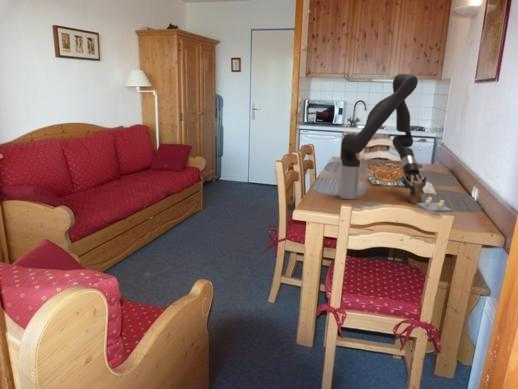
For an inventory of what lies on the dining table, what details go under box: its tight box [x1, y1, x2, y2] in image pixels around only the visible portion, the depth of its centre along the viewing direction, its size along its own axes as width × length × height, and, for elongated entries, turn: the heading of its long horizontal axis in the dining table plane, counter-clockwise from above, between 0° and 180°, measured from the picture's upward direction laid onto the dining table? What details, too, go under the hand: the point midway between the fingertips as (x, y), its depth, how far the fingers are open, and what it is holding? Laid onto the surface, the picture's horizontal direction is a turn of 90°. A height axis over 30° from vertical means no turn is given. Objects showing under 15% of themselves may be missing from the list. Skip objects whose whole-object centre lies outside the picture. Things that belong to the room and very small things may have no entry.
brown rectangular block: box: [408, 180, 424, 205], centre depth 207 cm, size 4×6×11 cm, turn 6°
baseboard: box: [420, 180, 439, 196], centre depth 241 cm, size 31×3×12 cm
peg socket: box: [416, 196, 453, 213], centre depth 199 cm, size 12×12×4 cm
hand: (417, 194), depth 205 cm, fingers closed on brown rectangular block, 3 cm apart
